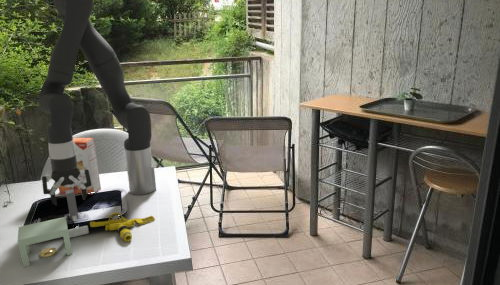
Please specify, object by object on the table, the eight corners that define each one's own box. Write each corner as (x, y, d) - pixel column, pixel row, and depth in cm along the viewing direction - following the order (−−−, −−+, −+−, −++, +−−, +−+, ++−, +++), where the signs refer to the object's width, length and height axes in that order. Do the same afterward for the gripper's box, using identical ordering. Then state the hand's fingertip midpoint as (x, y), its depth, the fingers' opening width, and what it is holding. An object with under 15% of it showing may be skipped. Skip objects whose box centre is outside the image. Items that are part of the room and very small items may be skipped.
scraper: (83, 212, 136) (79, 188, 133) (88, 233, 123) (84, 206, 120) (64, 216, 134) (59, 191, 131) (67, 238, 120) (62, 211, 117)
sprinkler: (99, 237, 112) (87, 214, 124) (98, 250, 113) (87, 226, 125) (165, 225, 123) (148, 206, 135) (164, 237, 124) (148, 217, 136)
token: (55, 248, 115) (55, 245, 115) (56, 255, 112) (55, 252, 112) (40, 252, 114) (39, 249, 113) (40, 259, 110) (39, 256, 110)
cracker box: (58, 194, 151) (49, 141, 145) (67, 187, 157) (58, 136, 150) (94, 195, 149) (85, 141, 143) (101, 188, 155) (94, 136, 149)
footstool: (69, 240, 119) (65, 216, 116) (72, 254, 112) (67, 228, 109) (24, 252, 113) (18, 227, 111) (23, 266, 107) (17, 240, 104)
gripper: (85, 148, 133) (91, 193, 138) (37, 154, 127) (45, 201, 131) (88, 154, 127) (94, 201, 131) (37, 161, 120) (46, 210, 125)
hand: (69, 201), depth 131 cm, fingers open, 8 cm apart
